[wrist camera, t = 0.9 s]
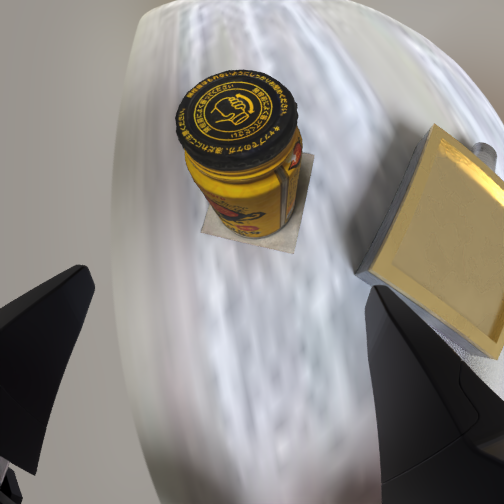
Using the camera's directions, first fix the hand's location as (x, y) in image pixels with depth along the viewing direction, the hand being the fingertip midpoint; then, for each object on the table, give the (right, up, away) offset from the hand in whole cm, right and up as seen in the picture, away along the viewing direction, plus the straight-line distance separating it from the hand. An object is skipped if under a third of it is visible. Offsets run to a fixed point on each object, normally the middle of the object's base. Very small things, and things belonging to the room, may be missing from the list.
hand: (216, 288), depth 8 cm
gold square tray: (+19, +3, +12) cm, 23 cm away
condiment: (+2, +6, +14) cm, 16 cm away
